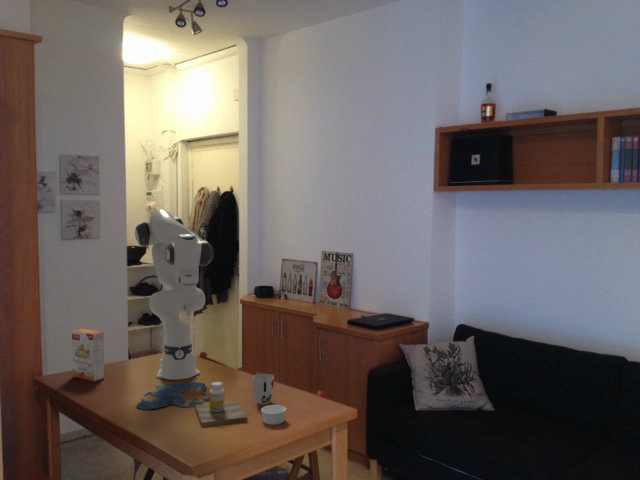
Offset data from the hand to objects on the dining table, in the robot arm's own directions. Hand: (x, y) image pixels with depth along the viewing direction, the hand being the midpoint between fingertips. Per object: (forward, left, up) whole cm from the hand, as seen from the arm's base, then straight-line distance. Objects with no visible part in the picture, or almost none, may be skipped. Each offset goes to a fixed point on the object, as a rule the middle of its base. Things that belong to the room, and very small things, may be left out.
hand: (187, 312), depth 223 cm
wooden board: (+17, +10, -35) cm, 40 cm away
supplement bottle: (+15, +9, -34) cm, 38 cm away
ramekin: (+28, +27, -36) cm, 53 cm away
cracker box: (-46, -38, -35) cm, 69 cm away
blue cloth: (-10, -4, -36) cm, 37 cm away
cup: (+8, +28, -35) cm, 46 cm away
